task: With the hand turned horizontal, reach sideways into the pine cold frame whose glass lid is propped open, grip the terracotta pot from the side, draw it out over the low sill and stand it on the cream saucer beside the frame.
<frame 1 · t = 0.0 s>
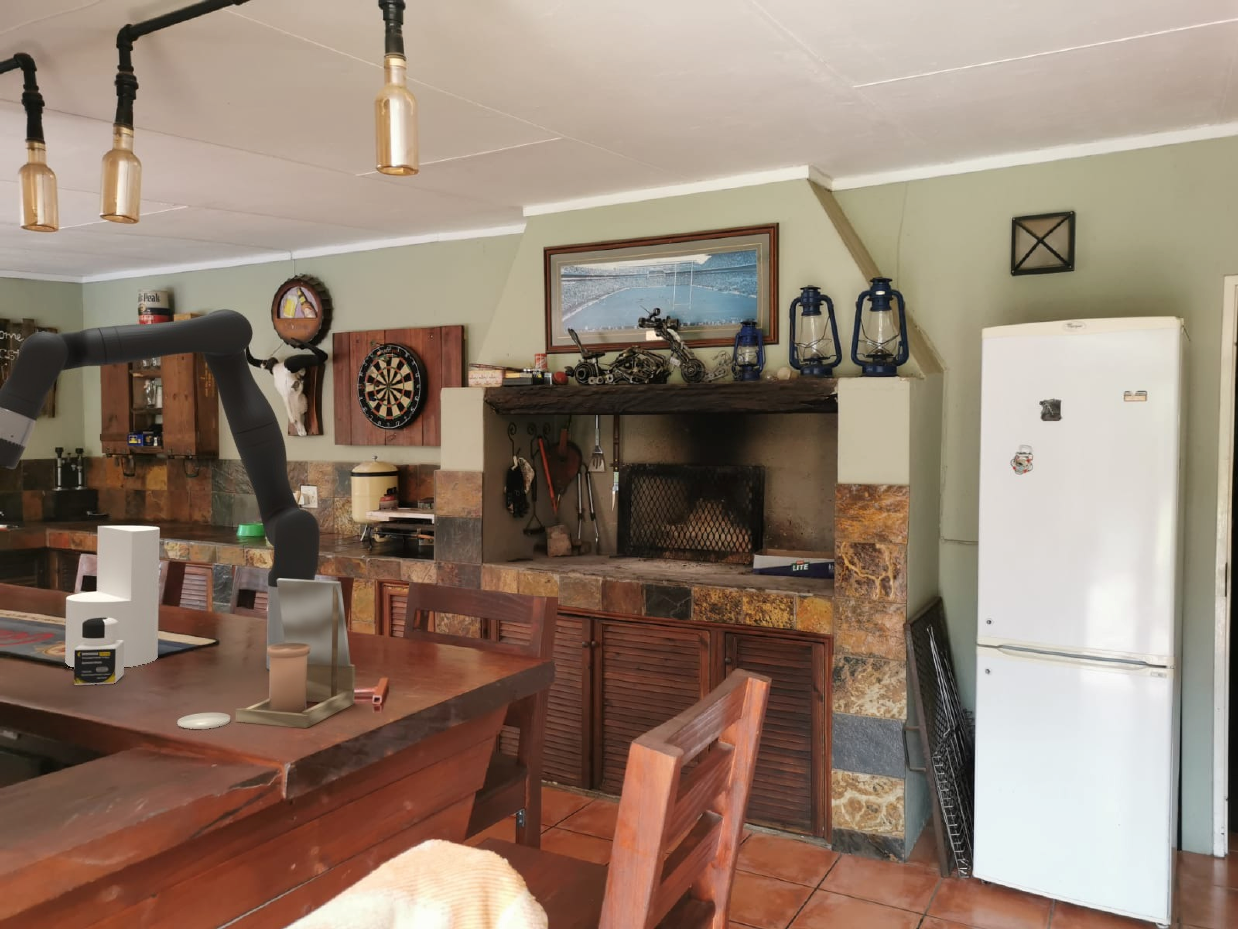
cold frame: (292, 714, 162), on the table
rounded stepped block: (112, 662, 200), on the table
medicine bottle: (99, 681, 183), on the table
clay pot: (287, 717, 161), resting in cold frame
saucer: (204, 722, 156), on the table
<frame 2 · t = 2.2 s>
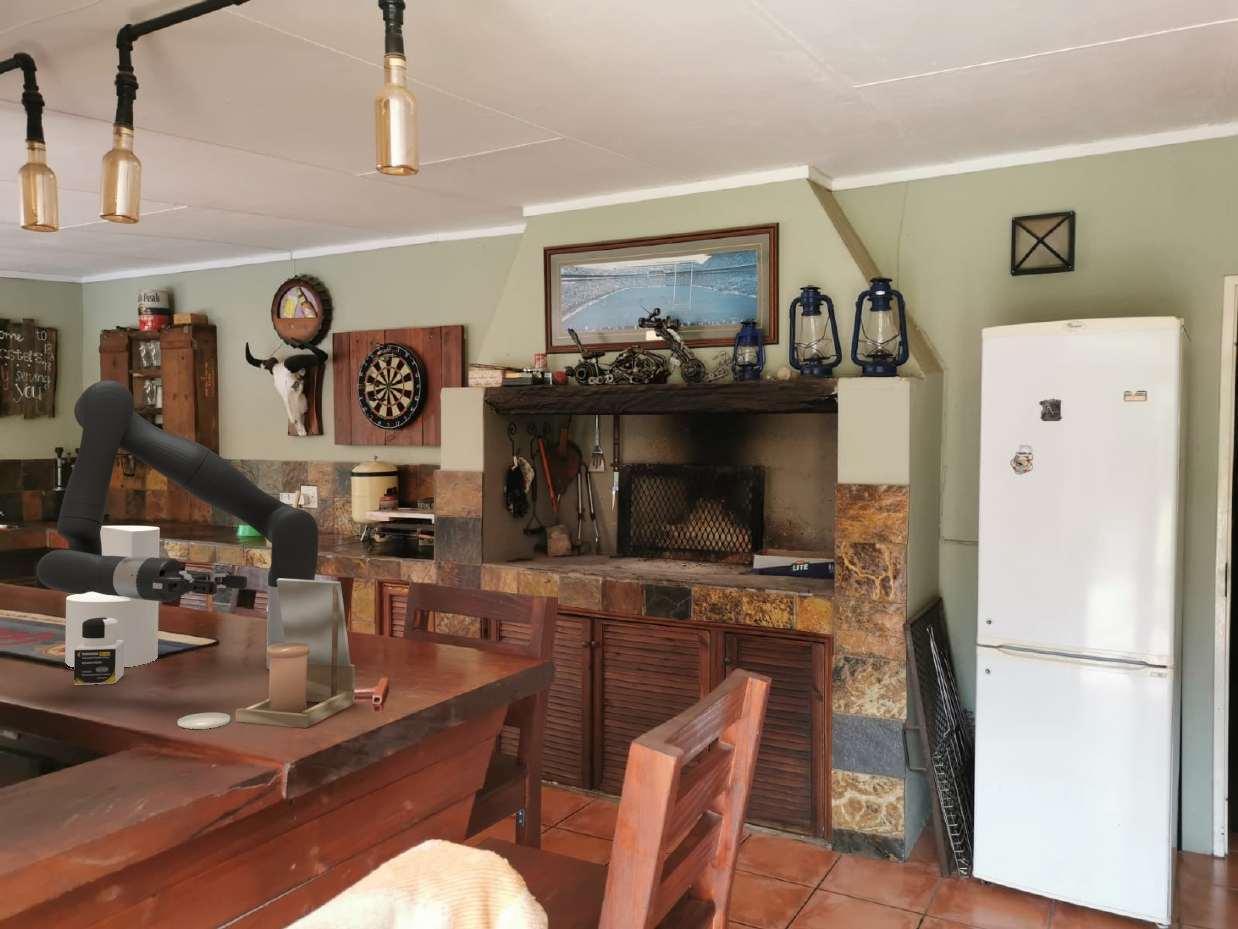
hand: (231, 585, 163), 22 cm above the table, tool horizontal, fingers open, 8 cm apart
nothing on the table moved.
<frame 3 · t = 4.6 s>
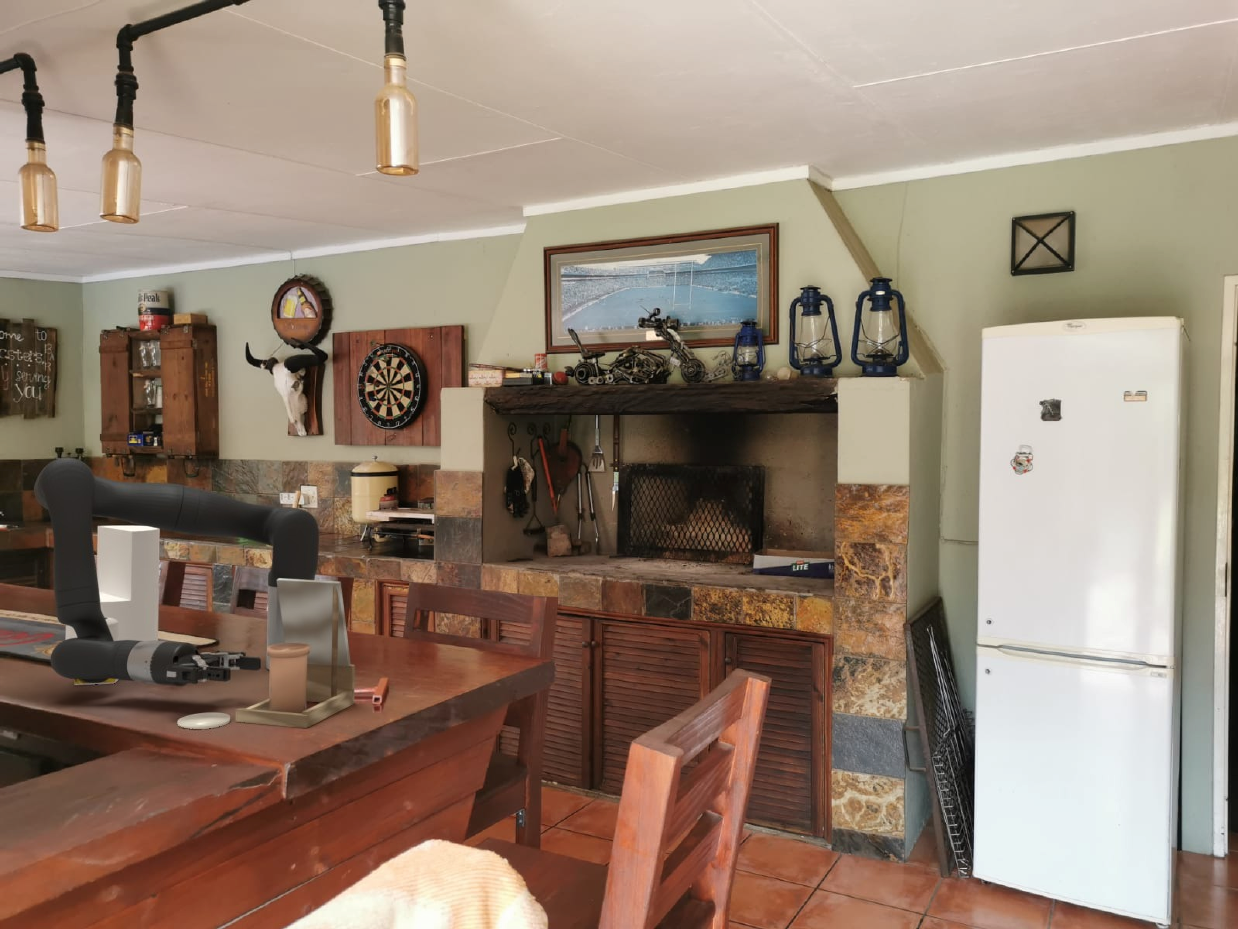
hand: (245, 669, 163), 8 cm above the table, tool horizontal, fingers open, 8 cm apart
nothing on the table moved.
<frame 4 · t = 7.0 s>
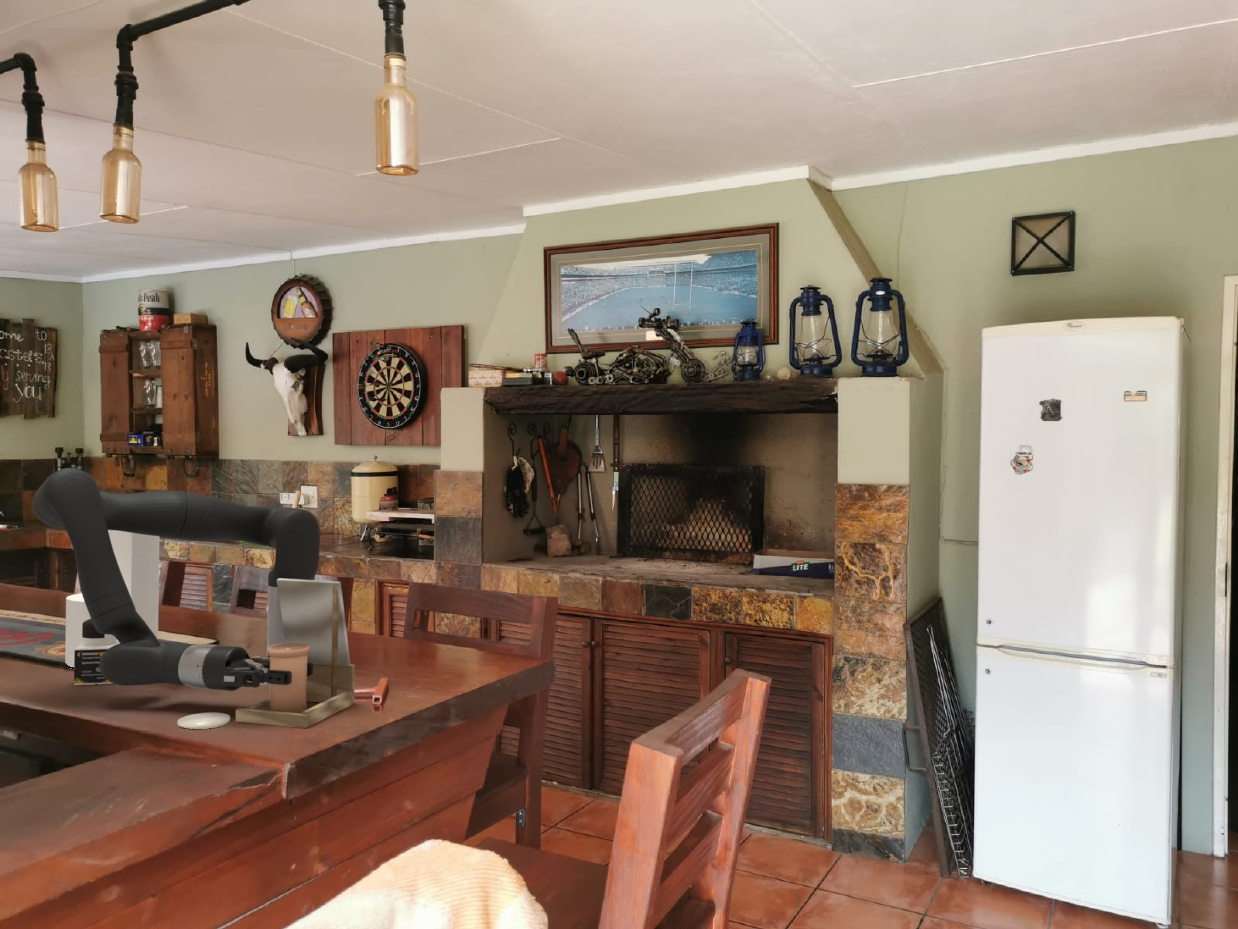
hand: (301, 673, 160), 8 cm above the table, tool horizontal, fingers closed on clay pot, 6 cm apart
clay pot: (287, 716, 161), resting in cold frame, touching gripper
everything else where it was.
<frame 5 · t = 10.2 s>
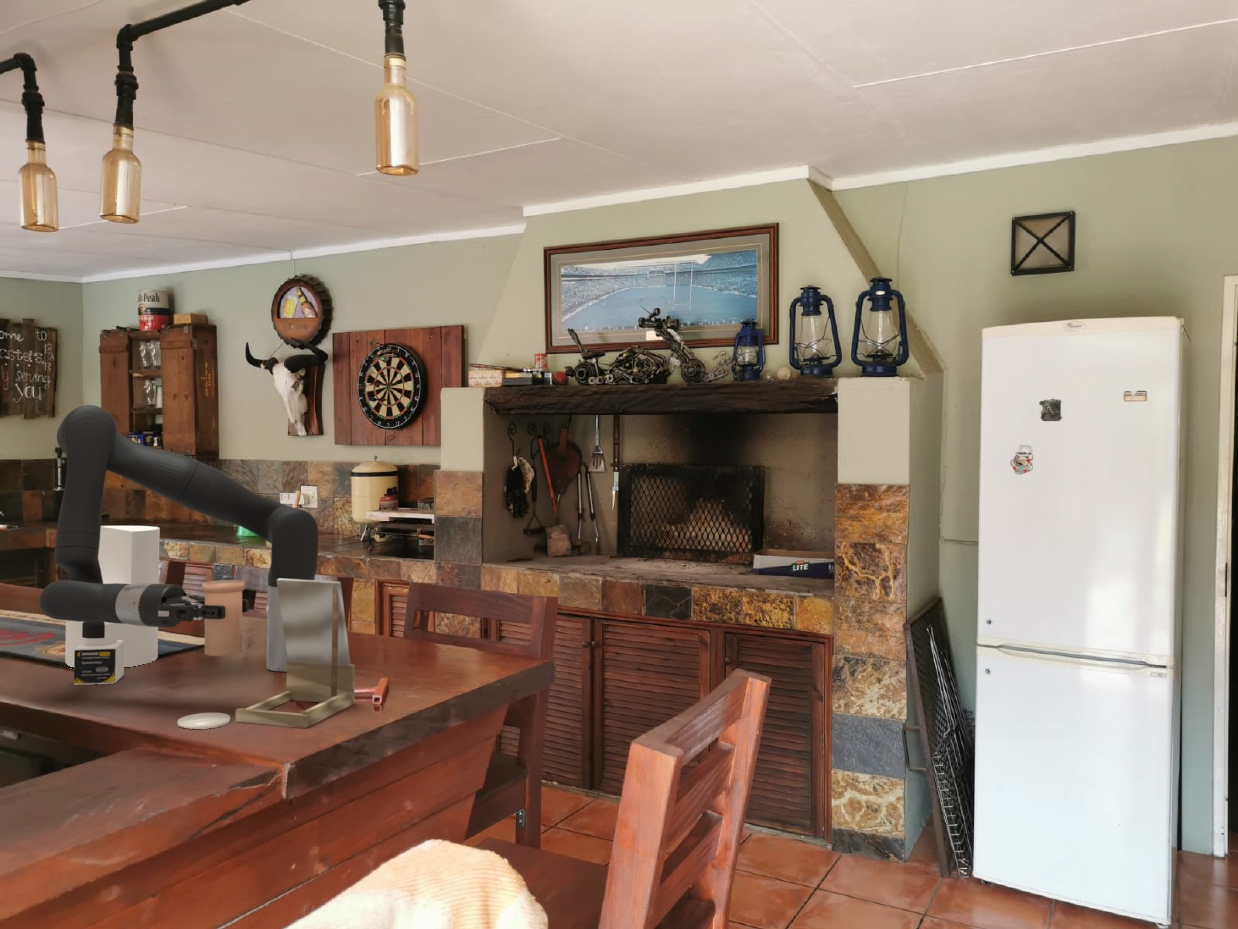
hand: (235, 609, 163), 18 cm above the table, tool horizontal, fingers closed on clay pot, 6 cm apart
clay pot: (223, 652, 164), point 10 cm above the table, touching gripper
everything else where it was.
when the fingers open (9 cm above the table, at t = 13.5 s): clay pot stays where it is, resting on saucer.
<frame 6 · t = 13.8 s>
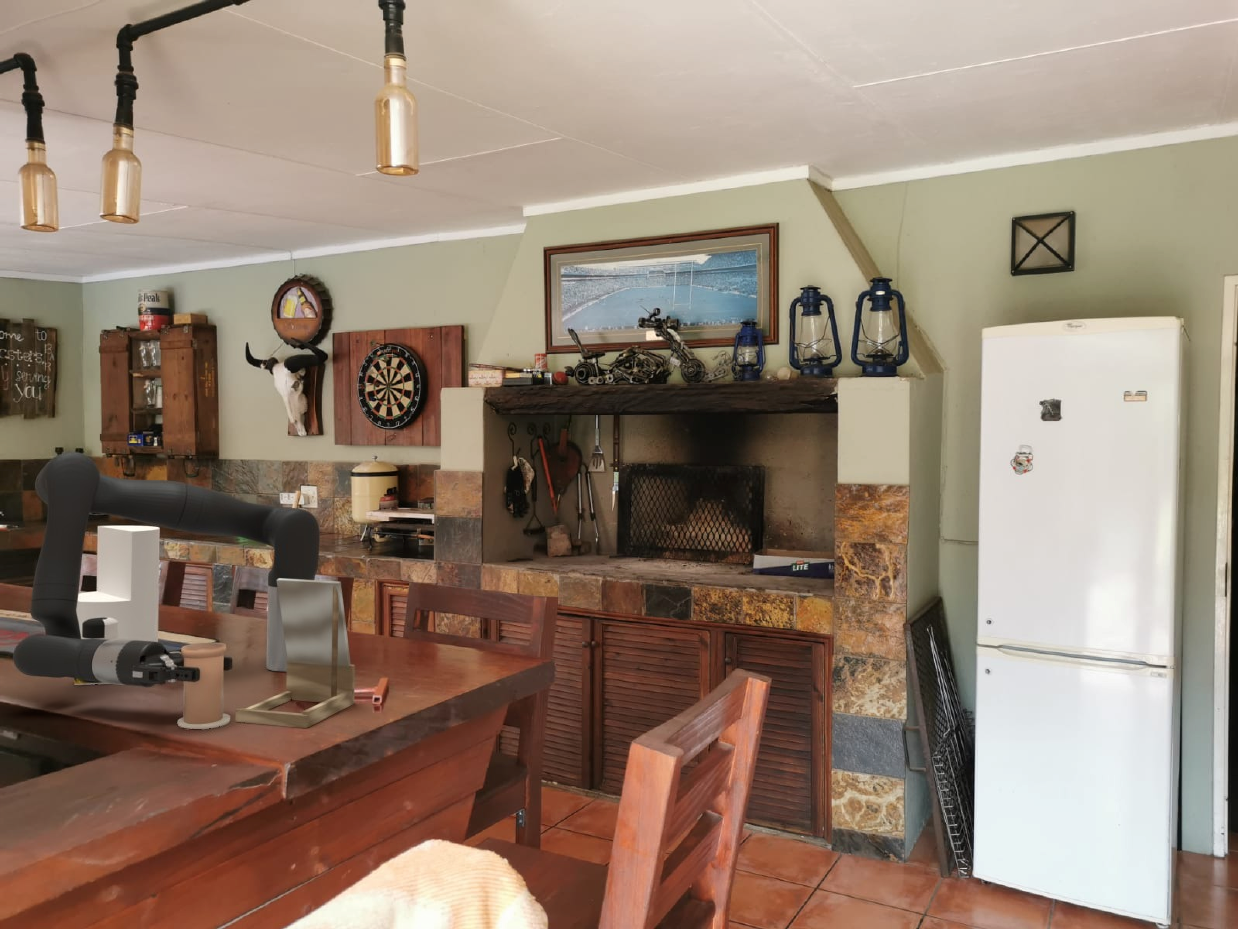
hand: (215, 669, 156), 9 cm above the table, tool horizontal, fingers open, 8 cm apart
clay pot: (203, 719, 156), point 1 cm above the table, touching saucer
everything else where it was.
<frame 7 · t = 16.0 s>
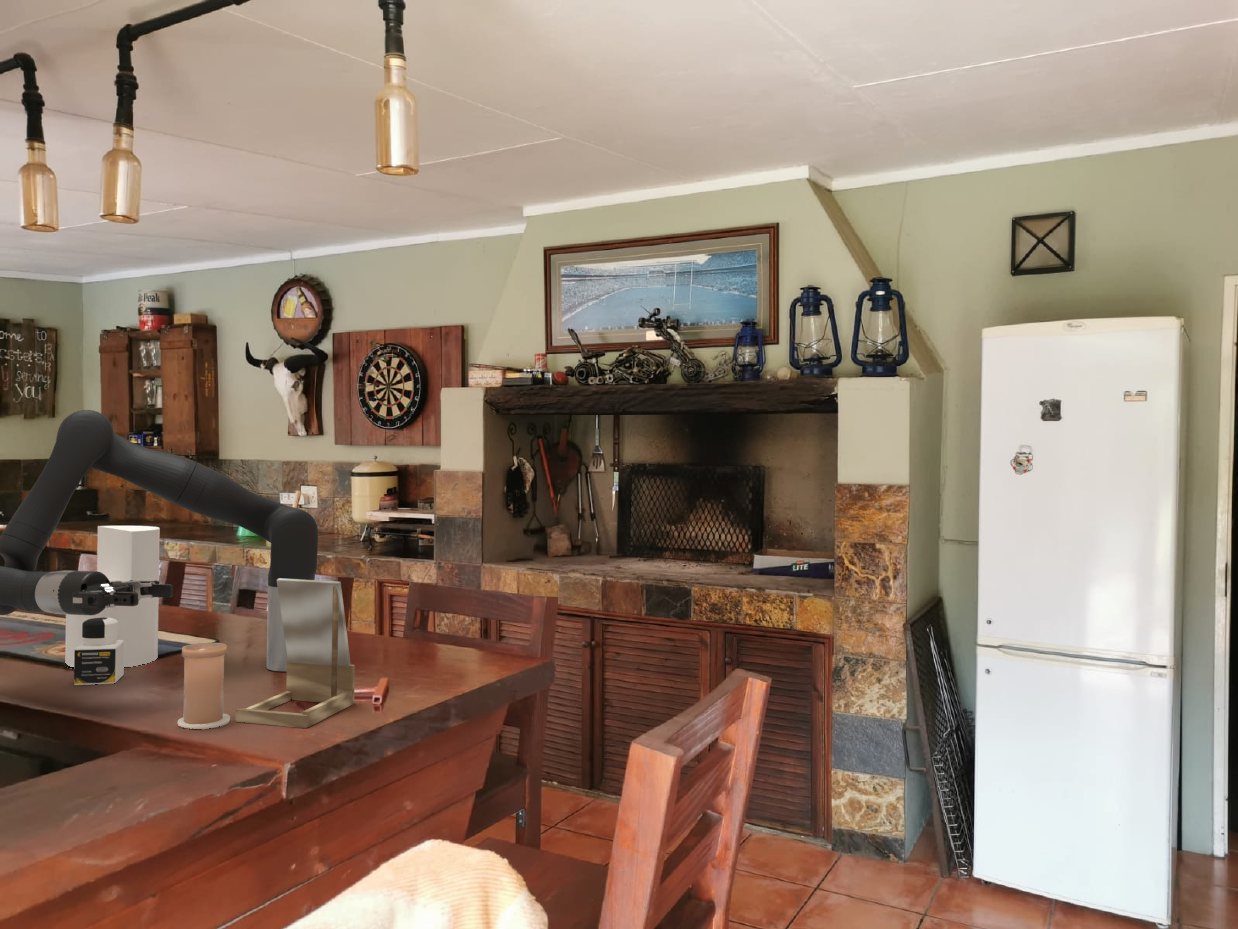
hand: (155, 595, 160), 20 cm above the table, tool horizontal, fingers open, 8 cm apart
nothing on the table moved.
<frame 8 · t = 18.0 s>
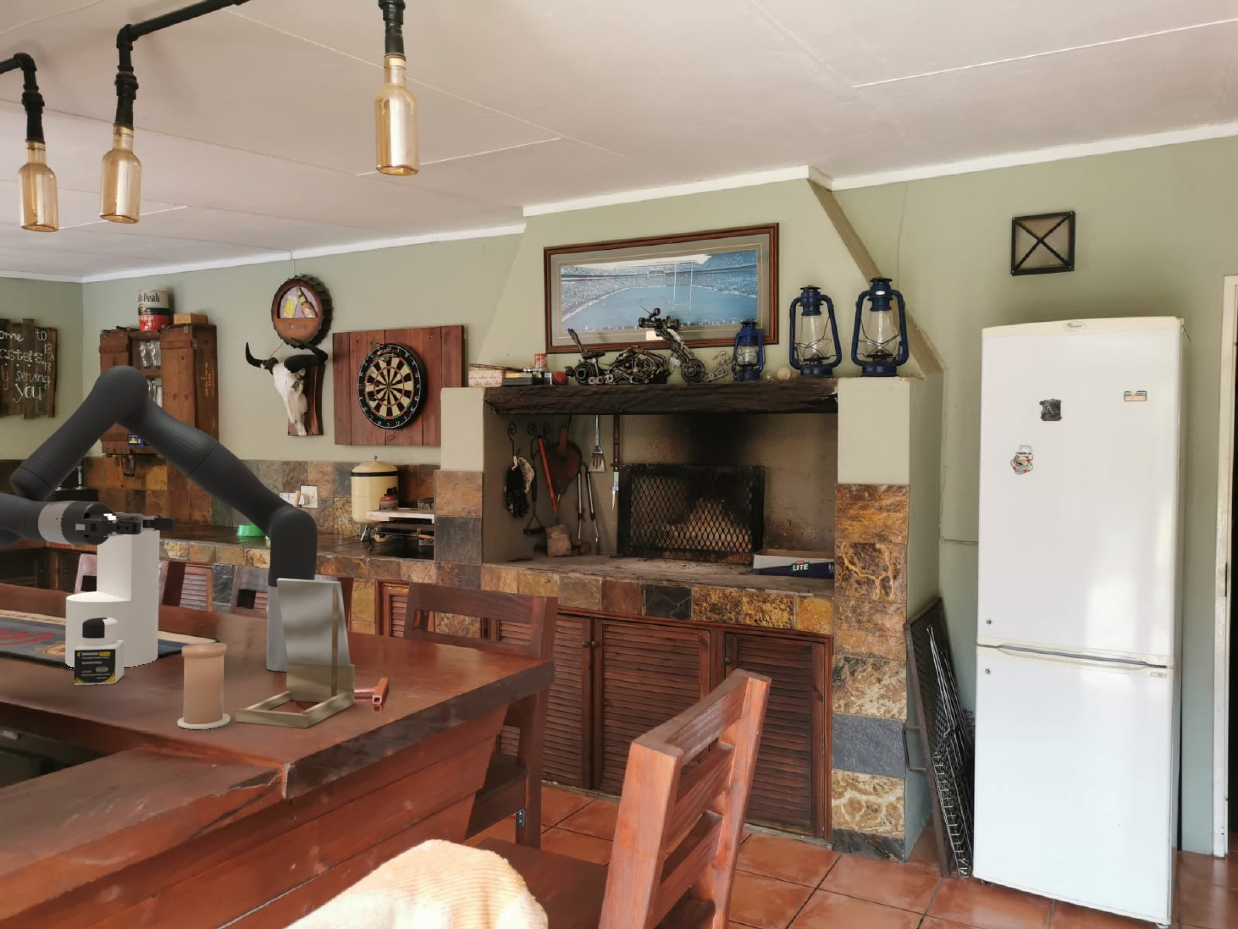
hand: (157, 526, 161), 32 cm above the table, tool horizontal, fingers open, 8 cm apart
nothing on the table moved.
at the end: clay pot 0.1 cm from the saucer (horizontally); clay pot tilted 0°; the gripper is holding nothing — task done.
